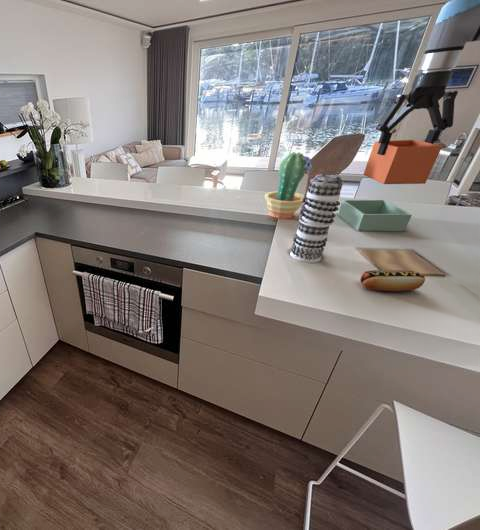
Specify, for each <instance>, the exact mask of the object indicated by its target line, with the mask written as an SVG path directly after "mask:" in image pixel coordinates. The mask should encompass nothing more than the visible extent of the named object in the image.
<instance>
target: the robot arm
mask: <svg viewBox="0 0 480 530" xmlns="http://www.w3.org/2000/svg"><path fill="white" fill-rule="evenodd" d="M470 42H472V43H473V42H480V0H449V1H448V2H446V3H444V5H443V6H442V7H441V9H440V12H439V13H438V16H437V19H436V21H435V23H434V25H433V28H432V30H431V34H430V35H429V39H428V42H427V45H426V48H425V50H424V53H423V56H422V58H421V61H420V64H419V66H418V69H417V71H418V72H419V73H417V74H416V75H415V77H414V79H413V82H412V85H411V89H410V91H409V93H408V94H396V96H395V97H394V100H393V101H392V102H393V103H392V104H391V106H390V107H389V108H388V110H387V111H386V113H385V114H384V116H383V117H381V120H380V121H379V123H378V124H377V125H376V127H375V130H376V131H379V132H381V133H380V136H379V139H378V141H379V143H380V147H379V150H378V153H377V154H380V155H385V152H386V149H387V146H388V144H389V141H391V138H392V136H393V132H391V131H392V130H393V129H395V127H396V126H398V125H399V123H400V122H402V121H403V120H404V119H405V118H406V117H407V116H408V115H409V114H410V113H411V112H413V111H414V110H421V109H425V110H427V112H428V115H429V118H430V121H431V125H432V128H433V129H429V130H428V132H427V135H426V137H425V140H424V142H427V143H432V144H435V142H437V141H438V140H439V138H440V136H441V133H442V131H445V130H447V128H452V127H453V125H454V117H455V116H454V114H455V101H456V100H455V99H456V97H458V93H459V91H458V90H448V91H446V88H447V87H448V85H449V83H450V82H451V79H452V77H453V74H454V70H453V69H455V68H456V67H457V65H458V63H459V61H460V58H461V55H462V53H463V51H464V49H465V46H466V44H467V43H470ZM441 99H442V111H441V110H440V108H441V106H440V103H439V101H440V100H441ZM406 101H407V103H406V104H405V105H404V106H403V107H402V105H403V104H404V103H405V102H406ZM401 107H402V108H401ZM399 109H401V110H400V111H399ZM397 112H398V113H397Z"/></svg>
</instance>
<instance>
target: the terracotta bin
mask: <svg viewBox="0 0 480 530" xmlns="http://www.w3.org/2000/svg"><path fill="white" fill-rule="evenodd" d="M379 147H380V143H379V140H377V141H375V140H374V143H373V146H372V148H371V152H370V154H369V157H368V159H367V163H366V165H365V169H364V172H363V175H364V176H365V177H368V178H369V179H372V180H374V181H376V182H377V183H380V184H382V185H415V184H416V185H421V184H423V185H425V184H426V183H427V181H428V178H429V177H430V174H431V172H432V170H433V168H434V165H435V163H436V161H437V159H438V156H439V155H440V152H441V150H442V149H443V145H441V144H436V143H433V144H432V143H427V142H425V141H421V140H418V139H401V140H400V139H399V140H390V141H389V144H388V146H387V149H386V152H385V155H380V154H377V153H378V150H379Z"/></svg>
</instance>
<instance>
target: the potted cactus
mask: <svg viewBox="0 0 480 530" xmlns="http://www.w3.org/2000/svg"><path fill="white" fill-rule="evenodd" d="M312 168H313V164H312V161H311V158H310V157H309V156H306V155H304V153H302V152H300V151H299V152H296V151H293V152H289V153H288V154H287V155H286V156H285V157H284V158H283V159H282V160H281V161H280V163H279V168H278V186H277V190H276V191H268V192H266V193H264V201H265V202H266V206H267V208H268V210H269V212H268V213H269V214H268V215H269V216H270V217H272V218H275V219H283V220H285V219H291V218H293V217H294V214H295V213H296V212H297V211H298V210H299V209H300V208H301V207H302V204H304V202H302V200H303V198H304V196H305V195H304V194H301V193H299V192H296V191H297V189H298V186H299V184H300V182H301V180H303V178H304V177H305V173H306V174H307V175H308V174H309V173H310V172H311V171H312ZM306 170H307V172H306ZM305 200H306V199H305Z"/></svg>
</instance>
